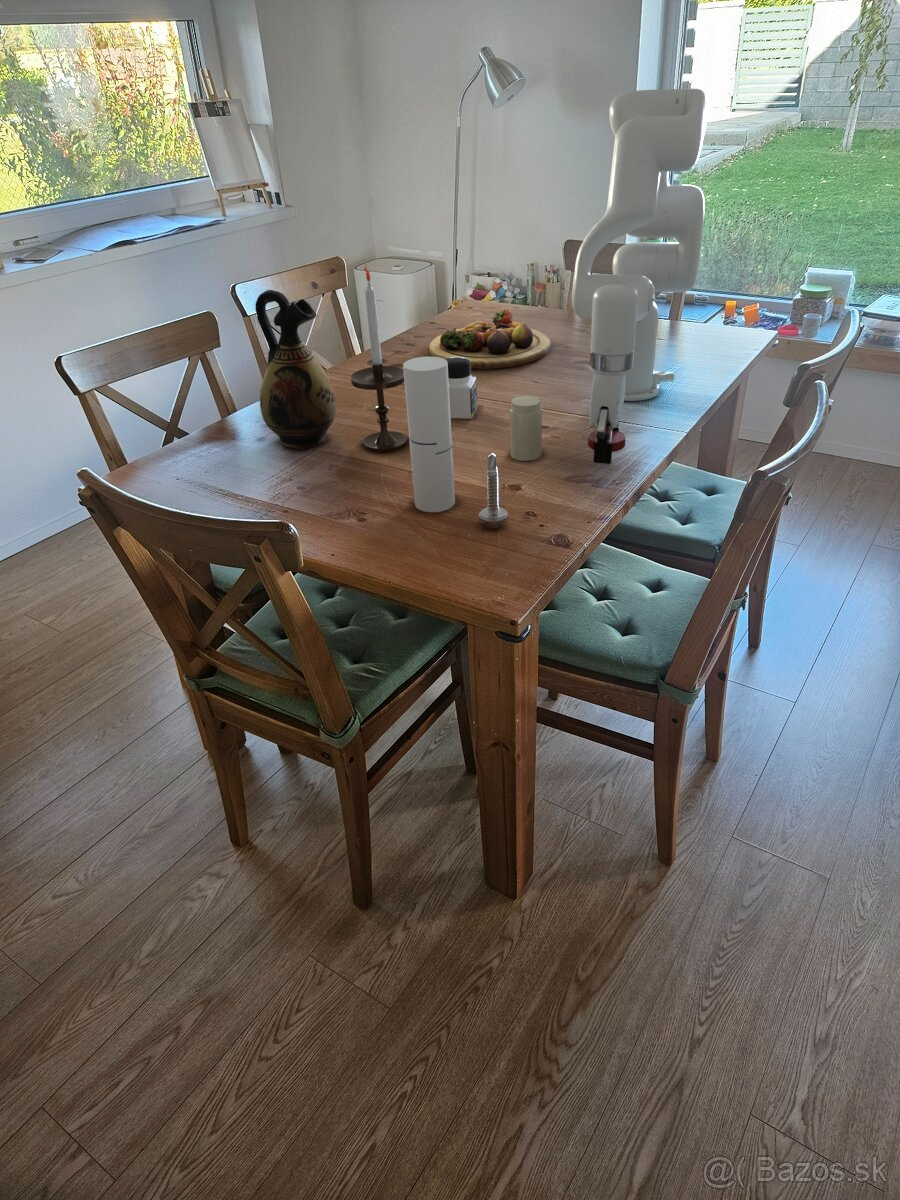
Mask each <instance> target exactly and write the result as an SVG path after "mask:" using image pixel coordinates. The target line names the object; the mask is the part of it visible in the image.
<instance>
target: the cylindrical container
mask: <svg viewBox="0 0 900 1200" xmlns="http://www.w3.org/2000/svg"><path fill="white" fill-rule="evenodd" d="M402 369H403V370H404V392H405V394H404V395H405V403H406V405H405V406H406V417H407V427H408V440H409V453H410V460H411V461H410V462H411V463H410V465H411V475H412V476H411V477H412V487H413V488H412V489H413V496H414V497H413V498H414V499H413V500H414V506H415V508H416V509H418V510H419V511H422V512H426V513H440V512H444V511H447V510H450V509H451V508H453V507H454V505H455V504H456V497H455V496H456V495H455V477H454V461H453V460H454V459H453V441H452V422H451V421H452V419H451V418H450V401H449V382H448V364H447V360H445V359H443V358H439V357H433V356H420V357H414V358H411V359H408V360H406V361H404V362H403V364H402Z"/></svg>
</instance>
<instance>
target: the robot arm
mask: <svg viewBox="0 0 900 1200" xmlns="http://www.w3.org/2000/svg"><path fill="white" fill-rule="evenodd" d="M608 115H609V123H610V127H611V131H612V133H613V135H614V137H615V138H614V143H613V152H612V161H611V169H610V178H609V187H608V194H607V203H606V204H607V205H606V210H605V213H604V215H603V216H602V217H601V218H600V219H599V220H598V221H597V223H595V225H594V226H592V228H591V229H590V230H589V232H588V233H587V235H586V236H585V238H584V239H583V241H582V243H581V245H580V246H579V249H578V252H577V255H576V259H575V263H574V271H573V280H572V289H571V307H572V310H573V312H574V314H575V315H576V316H577V317H578V318H581V319H584V320H585V319H586V320H591V328H590V329H591V330H590V352H589V371H591V372H593V373H594V374H593V378H592V386H591V395H590V407H589V416H588V417H589V419H588V426H589V427H590V429H591V428H594V427H596V429H595V431H596V437H595V442H594V450H593V461H592V462H593V463H594V464H603V465H610V464H612V458H613V457H612V456H613V452H612V444H613V443H611V437H612V430H616V431H620V427H619V425H620V419H621V416H622V414H623V409H624V402H638V401H639V402H640V401H645V400H649V399H653V398H655V397H657V396H658V395H659V393H660V386H659V385H660V384H661V383H668V382H673V381H674V380H675V373H674V372H665V371H664V370H658V371H656V370H655V366H656V365H655V363H656V353H657V341H658V332H659V331H658V330H659V322H660V321H659V319H660V313H659V308H658V306H657V304H656V302H655V298H656V297H655V296H656V293H686V292H689V291H690V290H692V289H693V288H694V287H695V285H696V283H697V281H698V277H699V271H700V263H701V253H702V243H703V233H704V221H705V210H706V209H705V208H706V207H705V205H706V203H705V196H704V193H703V191H702V189H701V188H699V186H696V185H693V184H670V183H669V172H688V171H690V170H692V169H694V168H695V166H696V164H697V162H698V160H699V158H700V154H701V150H702V146H703V143H704V142H703V141H704V136H705V132H706V127H707V122H708V117H709V100H708V96H707V95H706V92H704V91H703V90H702V89H700V88H668V89H667V88H666V89H639V90H638V89H637V90H630V91H625V92H622V93H619V94H618V95H616V96H614V98H613V99H612V100H611V102H610V104H609V113H608ZM624 235H628V236H629V237H634V238H652V239H653V238H654V239H655V238H656V239H658V238H660V239H662V238H663V239H665V238H666V239H676V241H677V242H660V241H658V242H657V241H654V242H653V241H638V242H637V241H636V242H629V243H626V244H624V245H622V246H620V247H619V248H618V249H617V250H616V251H615V253H614V255H613V259H612V274H607V273H606V274H605V273H604V274H602V273H599V274H598V273H597V274H593V273H592V274H591V272H592V267H593V263H594V261H595V258H596V257H597V255H598V254H599V252H600V251H601V250H602V249H604V248H605V247H606V246H607V245H608V244H610V243H611V242H614V240H616V239H618V238H620V237H622V236H624ZM606 430H609V432H608V435H607V433H605V432H606Z"/></svg>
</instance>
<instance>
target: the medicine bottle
mask: <svg viewBox="0 0 900 1200" xmlns="http://www.w3.org/2000/svg"><path fill="white" fill-rule="evenodd" d="M446 360H447V364H448V382H449V401H450V419H455V420H456V419H457V420H458V419H459V420H471V419H473V417H474V415H475V413H476V411H477V408H478V388H477V377H476V376H472V368H471V361H470V360H469V359H467V358H465V357H459V356H457V357H450V358H448V359H446Z"/></svg>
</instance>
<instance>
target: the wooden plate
mask: <svg viewBox="0 0 900 1200" xmlns="http://www.w3.org/2000/svg"><path fill="white" fill-rule="evenodd" d="M491 320H492V323H490V322H486V321H482V320H477V321H473V322H472V323H470V324H468V325H465V327H463V328H457V327H455V328H453V329H452V330H449V329H447V330H446V331H444V332H443V333H441V334H439V335H437V336H436V337H435V338H434V339H432V341H431V342H430V344H429V346H428V350H429V354H430V356H431V357H439V358H443V359H445V360H446V359H448V358H450V357H457V356H459V357H465V358H467V359H469V360H470V361H471V369H481V370H482V369H483V370H485V369H486V370H487V369H502V368H511V367H515V366H520V365H524V364H528V363H531V362H534V361H537V360H538V359H540V358H542V357H544V356H545V355H546V354H547V353H548V352H549V351H550V349H551V340H550V338H549V337H548V336H547V335H546V334H545V333H543V332H541V331H539V330H536V329H533V328H531V327H530V326H529V325H528V324H527V323H525V322H523V321H522V322H518V321H516V322H515V321H513V313H512V312H511V310H510V309H509V308H504V309H501V310H500V313H499V312H497V311H496V313H495V314H494V316H493V317H492V318H491Z"/></svg>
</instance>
